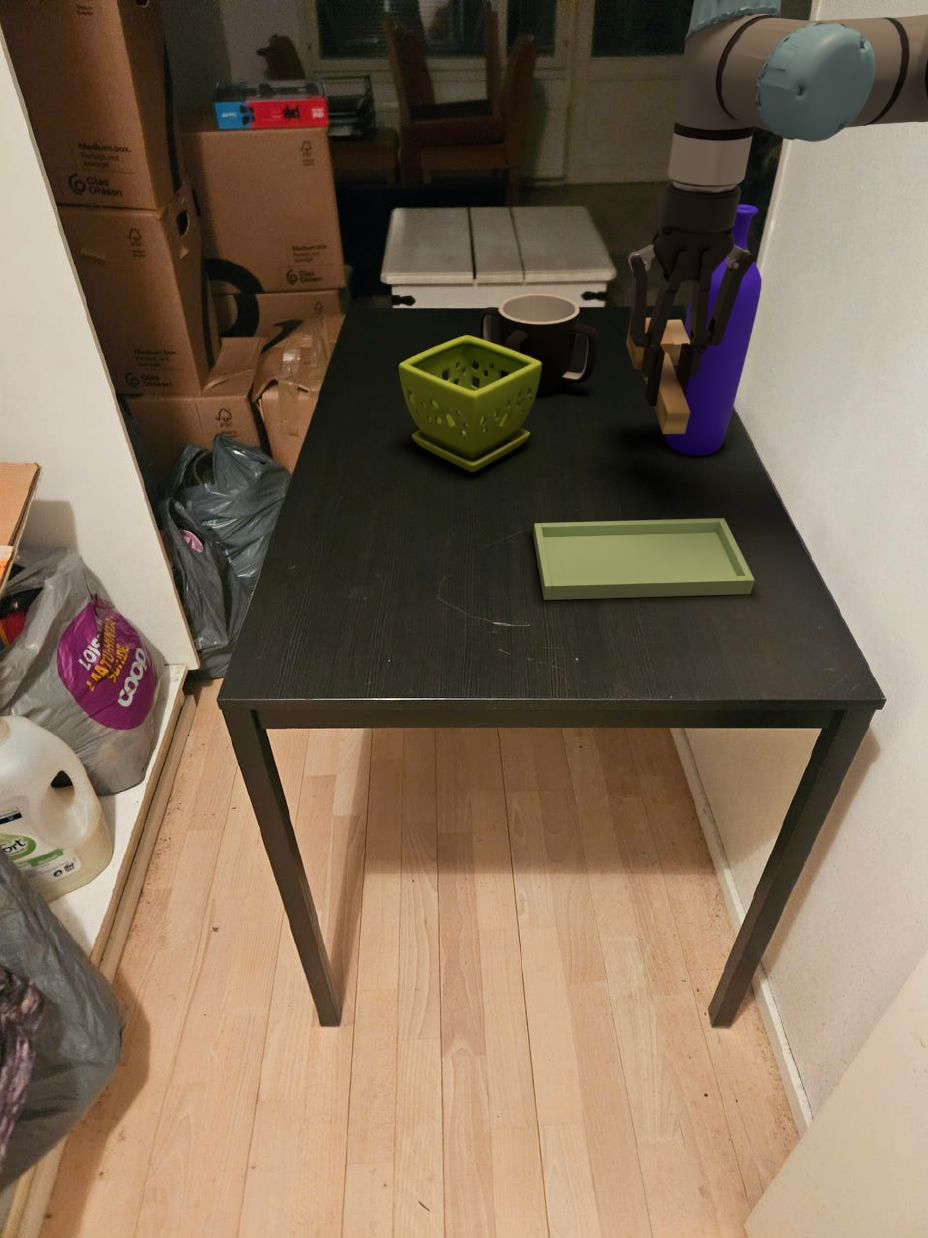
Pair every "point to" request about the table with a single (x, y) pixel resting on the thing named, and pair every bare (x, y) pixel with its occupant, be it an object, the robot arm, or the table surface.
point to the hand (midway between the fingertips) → (664, 400)
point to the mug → (543, 335)
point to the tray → (639, 559)
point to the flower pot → (470, 400)
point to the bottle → (720, 357)
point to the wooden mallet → (667, 378)
